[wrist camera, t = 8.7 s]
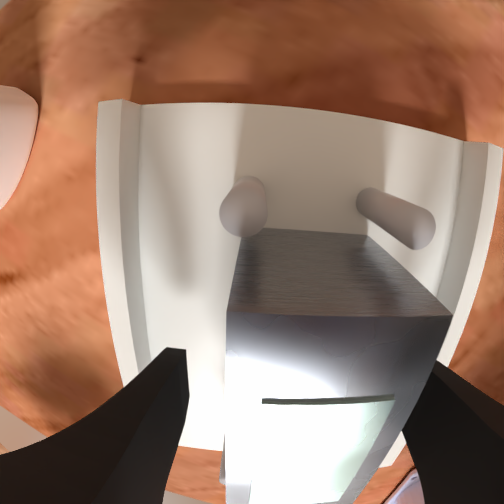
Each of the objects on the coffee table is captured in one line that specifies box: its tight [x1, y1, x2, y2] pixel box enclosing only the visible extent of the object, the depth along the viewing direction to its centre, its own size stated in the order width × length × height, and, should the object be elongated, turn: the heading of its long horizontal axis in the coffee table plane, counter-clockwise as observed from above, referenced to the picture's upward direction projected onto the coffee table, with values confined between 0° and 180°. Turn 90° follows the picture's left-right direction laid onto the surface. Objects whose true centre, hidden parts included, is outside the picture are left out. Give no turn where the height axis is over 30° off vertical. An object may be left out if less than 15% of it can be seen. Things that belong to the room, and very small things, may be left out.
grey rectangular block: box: [225, 228, 453, 504], centre depth 9 cm, size 8×4×6 cm, turn 177°
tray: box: [96, 99, 503, 485], centre depth 10 cm, size 16×13×4 cm
